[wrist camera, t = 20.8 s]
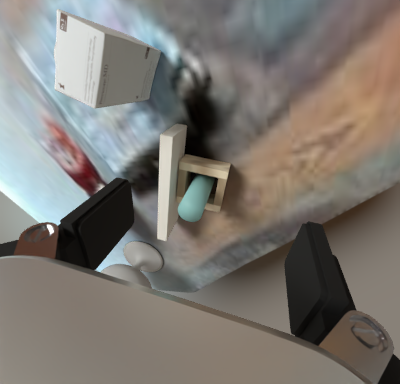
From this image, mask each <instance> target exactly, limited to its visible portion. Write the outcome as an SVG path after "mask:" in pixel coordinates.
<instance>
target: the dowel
mask: <svg viewBox="0 0 400 384" xmlns="http://www.w3.org/2000/svg"><path fill="white" fill-rule="evenodd" d="M214 181H215V178H214V177H213V176H208V175H204V174H199V173H197V174H196V176H195V178H194V179H193V181H192V183H191V185H190V186H189V188H188V190H187V192H186V194H185V195H184V197H183V199H182V201H181V203H180V204H179V206H178V213H179V215H180V217H181V218H183V219H184V220H186V221H189V222H196V221H198V220H199V219H200V218H201V217H202V214H203V211H204V209H205V206H206V203H207V200H208V197H209V195H210V192H211V189H212V186H213V184H214Z"/></svg>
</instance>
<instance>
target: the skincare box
mask: <svg viewBox="0 0 400 384" xmlns="http://www.w3.org/2000/svg"><path fill="white" fill-rule="evenodd" d="M160 55H161V51H160V50H158V49H156V48H154V47H152V46H150V45H148V44H146V43H144V42H142V41H140V40H138V39H136V38H134V37H132V36H129V35H127V34H124V33H122V32H119V31H116V30H113V29H111V28H108V27H105V26H102V25H100V24H97V23H94V22H92V21H89V20H86V19H84V18H81V17H78V16H75V15H73V14H70V13H67V12H65V11H62V10H59V9H57V36H56V44H55V47H54V59H55V63H56V73H55V90H56V91H59V92H61V93H63V94H65V95H67V96H69V97H71V98H73V99H76V100H78V101H80V102H82V103H84V104H86V105H88V106H90V107H92V108H101V107H107V106H114V105H120V104H126V103H133V102H139V101H145V100H148V99H149V98H150V92H151V87H152V83H153V79H154V75H155V71H156V68H157V64H158V61H159V58H160Z"/></svg>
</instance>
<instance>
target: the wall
mask: <svg viewBox="0 0 400 384" xmlns="http://www.w3.org/2000/svg"><path fill="white" fill-rule="evenodd" d="M186 131H187V125H182V124H175V125H174V126H172V127H171V128H169V129H168V130H166V131H165V132H163V133H162V134H160V160H159V195H158V230H157V239H160V240H164V241H167V239H168V237H169V235H170V233H171V231H172V229H173V227H174V225H175V223H176V222H177V220H178V216H179V213H178V206H179V204H180V203H177V202H176V198H177V186H178V174H179V162H180V160H181V159H182V158H183V157H184V152H185V142H186Z"/></svg>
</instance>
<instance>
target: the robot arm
mask: <svg viewBox="0 0 400 384" xmlns="http://www.w3.org/2000/svg"><path fill="white" fill-rule="evenodd" d="M60 222H61V224H60V225H58V226H57V225H56V224H54V223H50V222H45V223H39V224H36V225H33V226H31V227H29V228H27V229H26V230H25V231H23V232H22V233H21V235H20V237H19V240H15V241H11V242H7V243H3V244H0V384H400V360H399V359H398V358H397V357H396V356H395V355H394V354H393V350H394V346H393V342H392V339H391V337H390V336H389V334H388V332H387V331H386V330H385V329H384V327H383V326H382V325H381V324H380V323H378V322H377V321H376V320H375V319H374V318H372V317H371V316H369V315H367V314H365V313H363V312H360V311H357V310H356V308H355V305H354V302H353V300H352V297H351V294H350V292H349V289H348V286H347V283H346V281H345V278H344V275H343V273H342V270H341V268H340V265H339V262H338V259H337V258H336V256H334V255H332V252H331V249H330V246H329V243H328V240H327V237H326V235H325V232H324V229H323V226H322V225H321V224H318V223H313V222H307V224H302V226H301V228H300V230H299V232H298V235H297V237H296V239H295V241H294V243H293V245H292V247H291V249H290V251H289V253H288V255H287V258H286V260H285V276H286V286H287V297H288V307H289V318H290V328H291V333H292V334H293V335H295V336H293V335H290V334H288V333H285V332H282V331H279V330H276V329H273V328H270V327H267V326H264V325H261V324H259V323H256V322H253V321H250V320H247V319H244V318H241V317H238V316H235V315H231V314H228V313H225V312H222V311H219V310H216V309H213V308H210V307H207V306H204V305H201V304H198V303H195V302H192V301H188V300H185V299H182V298H179V297H176V296H173V295H170V294H166V293H164V292H160V291H157V290H154V289H151V288H148V287H145V286H142V285H139V284H135V283H132V282H129V281H126V280H123V279H120V278H116V277H113V276H110V275H107V274H104V273H100V272H97V271H94V270H95V269H96V268H97V267H98V266H99V265H100V264H101V263H102V261H103V260H104V259H105V258H106V257H107V255H108V254H109V253H110V252H111V250H112V249H113V248H114V247H115V246H116V244H117V243H118V242H119V241H120V240H121V238H122V237H123V236H124V235H125V234H126V232H127V231H128V230H129V229H130V228H131V226H132V225H133V223H134V211H133V201H132V191H131V184H130V183H129V182H128V180H126V179H122V178H115V179H114V180H113V181H111V182H110V183H109V184H108V185H106V186H105V187H104V188H102V189H101V190H100V191H98V192H97V193H96V194H94V195H93V196H92V197H90V198H89V199H88V200H86V201H85V202H84V203H82V204H81V205H80V206H79V207H77V208H76V209H75V210H73V211H72V212H71V213H69V214H68V215H67V216H65V217H64V218H63V219H61V220H60Z"/></svg>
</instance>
